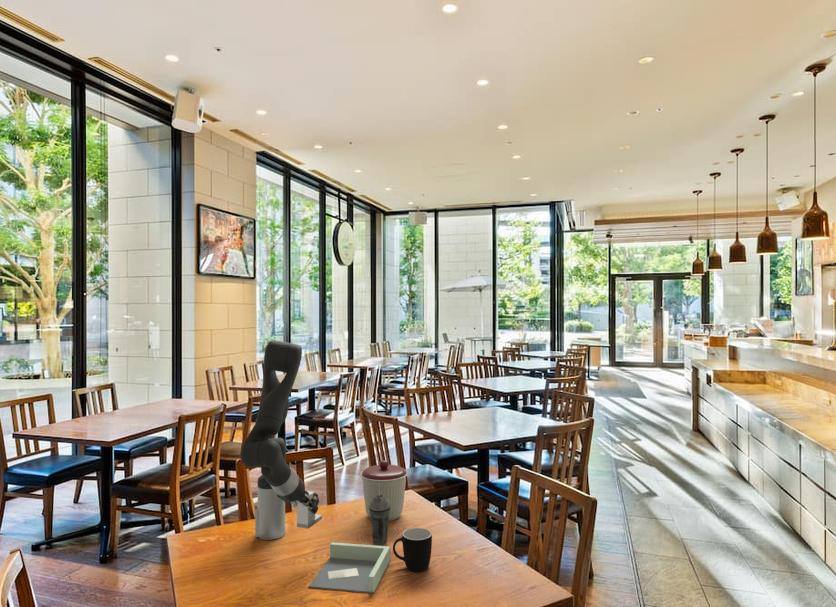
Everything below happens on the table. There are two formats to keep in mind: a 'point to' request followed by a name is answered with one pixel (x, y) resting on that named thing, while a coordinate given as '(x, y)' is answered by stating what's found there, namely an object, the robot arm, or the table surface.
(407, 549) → the mug
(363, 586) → the mat
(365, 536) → the table surface
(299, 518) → the bracket
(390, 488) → the canister
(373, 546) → the corner walls
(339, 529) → the table surface
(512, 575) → the table surface
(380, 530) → the beverage cup
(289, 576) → the table surface
